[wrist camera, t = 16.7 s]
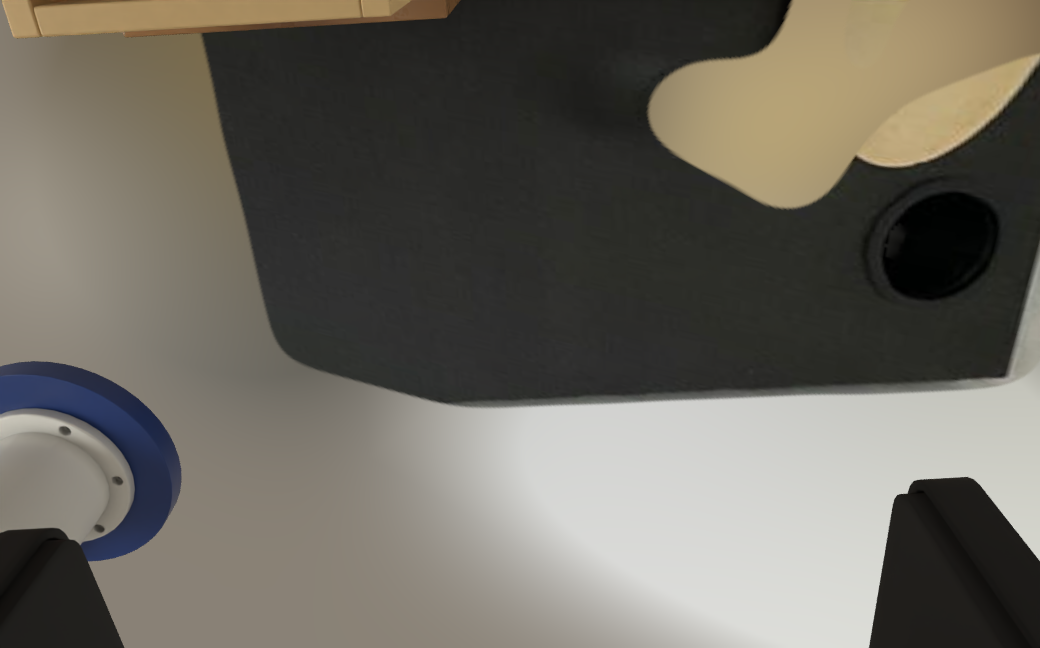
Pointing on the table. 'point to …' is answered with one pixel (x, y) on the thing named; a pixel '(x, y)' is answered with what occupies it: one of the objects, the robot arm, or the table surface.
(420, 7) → the stand
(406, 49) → the table surface
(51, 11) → the open box
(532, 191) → the table surface
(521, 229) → the table surface
